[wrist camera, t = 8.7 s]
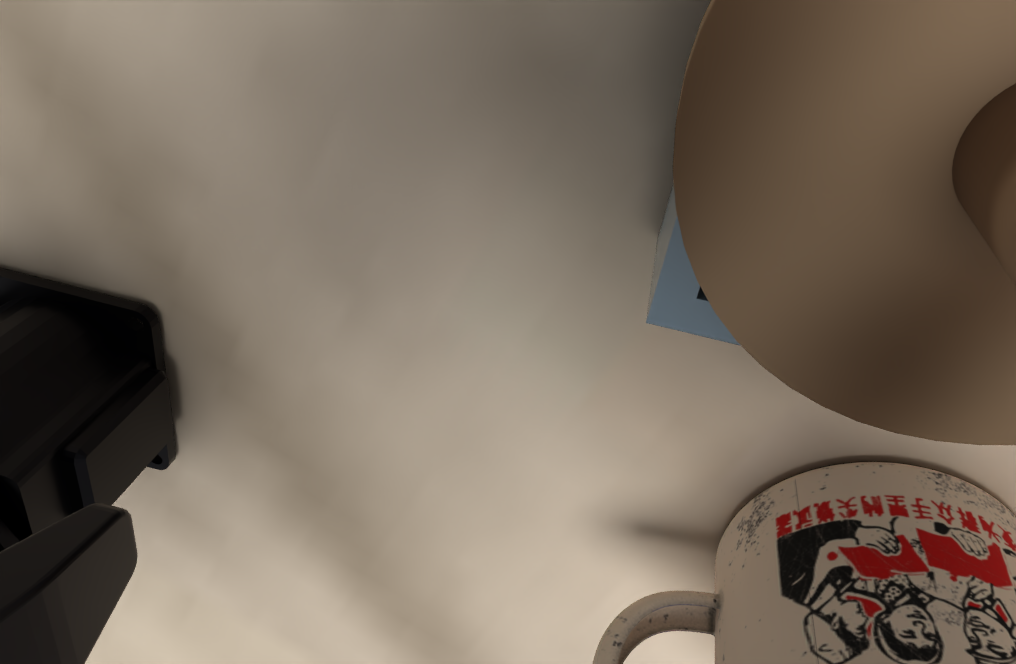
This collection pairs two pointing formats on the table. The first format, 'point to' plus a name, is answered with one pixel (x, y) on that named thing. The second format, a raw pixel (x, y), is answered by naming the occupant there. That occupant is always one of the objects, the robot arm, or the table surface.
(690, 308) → the dish
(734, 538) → the teacup with lid
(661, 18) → the table surface
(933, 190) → the lid
